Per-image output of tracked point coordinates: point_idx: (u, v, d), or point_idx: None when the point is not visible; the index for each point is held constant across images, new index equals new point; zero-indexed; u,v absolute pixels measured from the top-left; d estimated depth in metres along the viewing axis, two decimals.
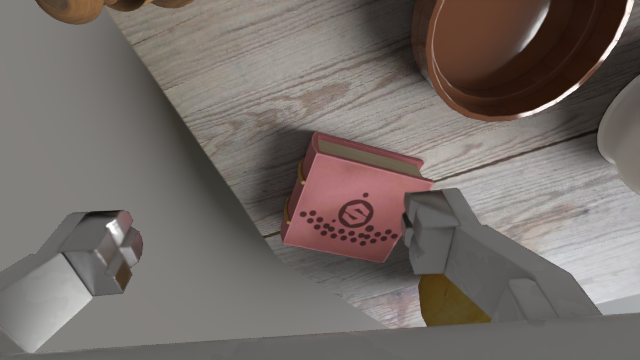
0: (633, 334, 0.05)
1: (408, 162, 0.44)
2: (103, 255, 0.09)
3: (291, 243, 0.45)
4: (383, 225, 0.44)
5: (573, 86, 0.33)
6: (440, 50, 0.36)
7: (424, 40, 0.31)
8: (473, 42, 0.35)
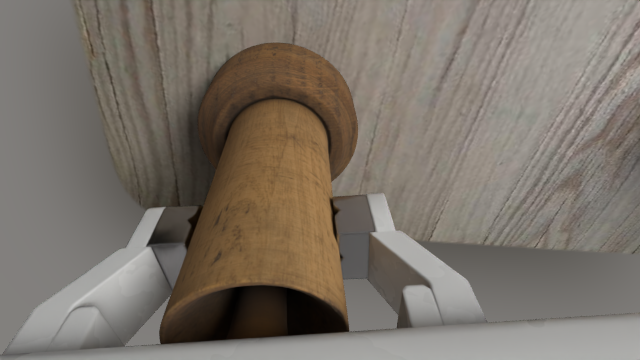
0: (633, 334, 0.05)
1: None
2: None
3: None
4: None
5: None
6: None
7: None
8: None
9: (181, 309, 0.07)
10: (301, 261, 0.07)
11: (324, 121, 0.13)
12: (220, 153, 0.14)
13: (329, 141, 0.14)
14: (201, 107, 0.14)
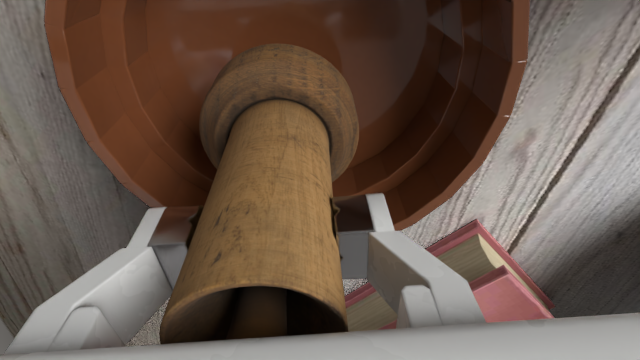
0: (633, 334, 0.05)
1: (459, 242, 0.26)
2: None
3: None
4: None
5: (515, 12, 0.12)
6: None
7: None
8: None
9: (181, 309, 0.07)
10: (301, 262, 0.07)
11: (325, 121, 0.13)
12: (221, 153, 0.14)
13: (330, 142, 0.14)
14: (203, 107, 0.14)
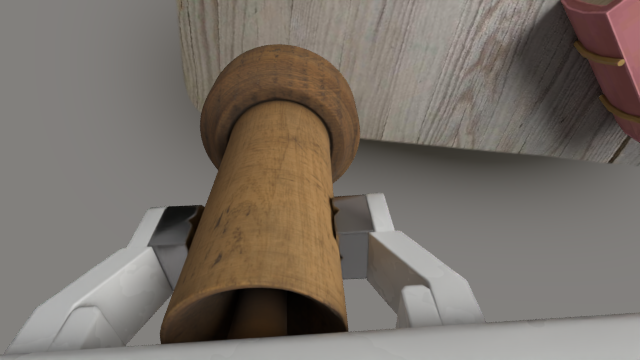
0: (633, 334, 0.05)
1: None
2: None
3: None
4: None
5: None
6: None
7: None
8: None
9: (181, 310, 0.07)
10: (301, 263, 0.07)
11: (326, 122, 0.13)
12: (222, 154, 0.14)
13: (331, 143, 0.14)
14: (204, 108, 0.14)
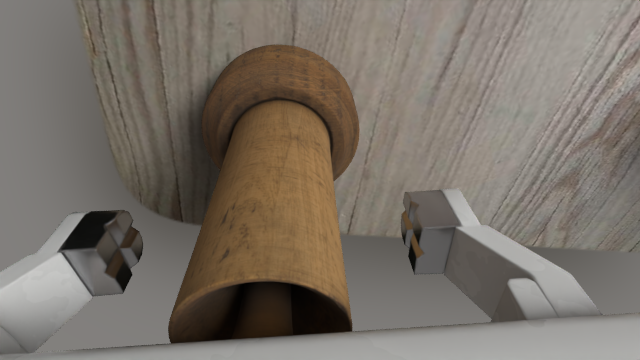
0: (633, 334, 0.05)
1: None
2: (103, 255, 0.09)
3: None
4: None
5: None
6: None
7: None
8: None
9: (190, 304, 0.07)
10: (306, 258, 0.07)
11: (326, 121, 0.14)
12: (223, 153, 0.14)
13: (331, 142, 0.14)
14: (205, 108, 0.14)
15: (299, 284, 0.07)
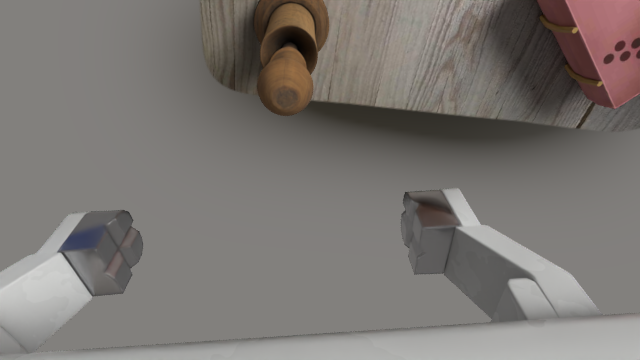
0: (633, 334, 0.05)
1: None
2: (103, 255, 0.09)
3: (625, 99, 0.33)
4: None
5: None
6: None
7: None
8: None
9: (268, 36, 0.23)
10: (302, 26, 0.23)
11: (313, 14, 0.29)
12: (264, 31, 0.30)
13: (315, 26, 0.30)
14: (257, 8, 0.30)
15: (300, 28, 0.22)
